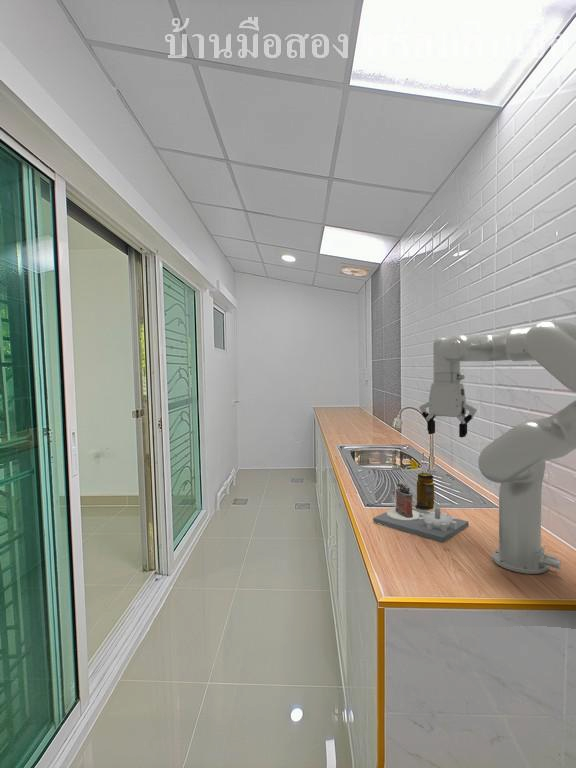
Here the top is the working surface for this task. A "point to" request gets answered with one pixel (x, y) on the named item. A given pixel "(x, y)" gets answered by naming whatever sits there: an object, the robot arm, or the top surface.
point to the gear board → (419, 528)
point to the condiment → (425, 492)
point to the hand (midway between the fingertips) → (446, 435)
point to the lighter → (404, 500)
